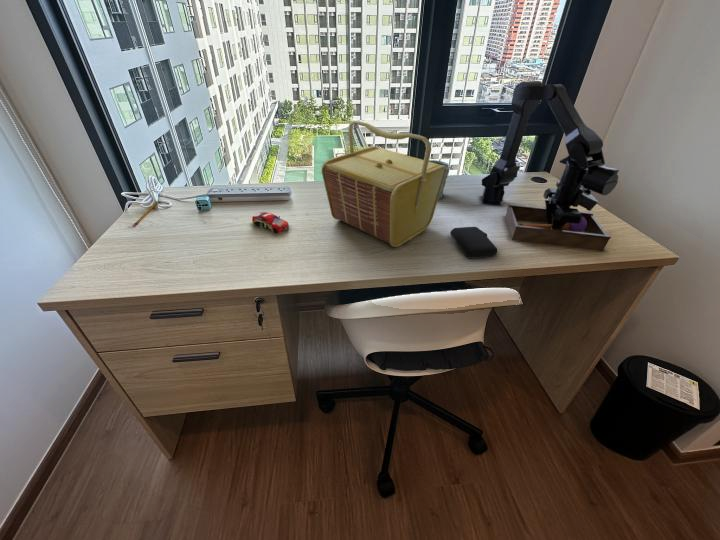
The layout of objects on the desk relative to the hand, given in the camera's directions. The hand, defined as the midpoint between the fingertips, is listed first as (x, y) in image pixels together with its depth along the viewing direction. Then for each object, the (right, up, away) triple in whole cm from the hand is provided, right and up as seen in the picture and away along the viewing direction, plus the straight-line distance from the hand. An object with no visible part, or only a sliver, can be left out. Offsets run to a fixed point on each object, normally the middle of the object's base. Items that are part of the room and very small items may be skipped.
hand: (551, 229), depth 105 cm
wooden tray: (0, -1, +1) cm, 1 cm away
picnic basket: (-54, +2, +3) cm, 54 cm away
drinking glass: (-33, +16, +23) cm, 43 cm away
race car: (-89, +1, +1) cm, 89 cm away
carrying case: (-27, -6, -6) cm, 28 cm away
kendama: (0, -1, +1) cm, 1 cm away
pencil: (-133, +6, +7) cm, 133 cm away
